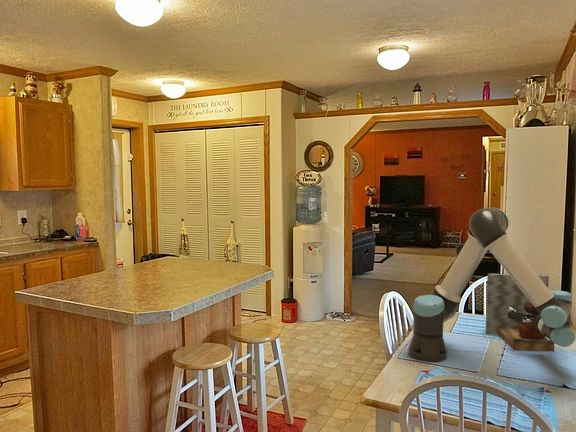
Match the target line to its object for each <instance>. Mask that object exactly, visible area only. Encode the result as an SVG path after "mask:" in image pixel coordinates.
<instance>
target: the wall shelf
mask: <svg viewBox="0 0 576 432" xmlns="http://www.w3.org/2000/svg"><path fill="white" fill-rule="evenodd" d="M537 275H538V277H539V278H540V279H541V280H542V281H543V283H544V284H545V285H546V286H547V288H548V289H549V281H550V277H549V275H548V274H537ZM486 280H487V281H486V283H487V284H486V306H485V310H486V312H485V334H486V335H496V336H497V335H498V336H499V337H500V338H501V339H502V340H503V341H504V342H505V343H506V344H507V345H508V346H509V347H510V348H511V349H512V348H513V349H512V350H513V351H526V350H528V352H531V351H532V352H549V351H554V352H555V343H553V342H552V341H551V340H550V339H549V338H547V337H545V338H544V339H542V340H541V339H528V338H525V337H523V336H522V335H520V333H519V325H520V323H522V322H519V321H516V320H513V319H510V318H508V312H509V307H511V308H513V309H514V310H515V311H516V312H518V313H522V314H526V315H528V314H529V313H527V312H526V311H525V310H524V307H523V306H524V303H525V302H526V301H529V299H528V298H527V297H526V295H525V294H524V293H523V292H522V290H521V289H520V288H519V287H518V285H517V284H516V283H515V282H514V280H513V279H512V278H511V277H510V275H509V274H508V273H487V278H486ZM531 315H532V314H531Z"/></svg>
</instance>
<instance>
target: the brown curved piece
mask: <svg viewBox="0 0 576 432" xmlns="http://www.w3.org/2000/svg"><path fill="white" fill-rule="evenodd" d="M523 307H524V310H525V311H526V312H527V313H529V314H532V315H539V314H540V313H539V312H538V310H537V309H536V308H535V307H534V305H533V304H532V303H531V302H530V300H529V301H526V302H525V303H524V306H523ZM530 318H531V317H530ZM519 333H520V335H522V336H523V337H525V338H528V339H541V340H542V339H544V338H547V337H546V336H545V335H544V334H542V333H541V332H539V331H538V330H537V329H536V328H535V327H534V325H533V324H531V323H528V322H527V324H523V323H520V325H519Z"/></svg>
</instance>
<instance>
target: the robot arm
mask: <svg viewBox="0 0 576 432" xmlns="http://www.w3.org/2000/svg"><path fill="white" fill-rule="evenodd" d="M509 221H510V220H509V217H508V215H507V214H506V212H505V211H503V209H500V208H497V207H492V206H491V207H490V206H489V207H486V208H480V209H477V210H476V211H475V212H473V214H472V215H471V216H470V218H469V221H468V227H469V228H468V229H467V231H466V233H467V236H468V238H467V240H466V241H465V243H464V244H463V247H462V248H461V250H460V251H459V253H458V255H457V257H456V258H455V260H454V262H453V264H452V266H451V267H450V269H449V270H448V272H447V274H446V276H445V278H444V279H443V281H442V282H441V284H438V285H436V286H435V287H434V288H433V290H432V291H431V294H425V295H419V296H417V297H416V298H415V299H414V301H413V302H414V303H413V306H412V307H413V308H412V309H413V319H412V320H413V322H412V323H413V325H412V326H413V328H412V329H413V330H412V331H413V333H412V338H411V339H410V340H411V341H410V342H409V345H408V355H409V356H410V357H411V358H414V359H415V360H421V361H426V362H441V361H444V360H446V359H447V358H448V349H447V345H446V343H445V340H444V323H446V322H447V321H448V320H450V319H452V318H454V316H455V315H456V313H457V311H458V307H459V306H460V303H461V302H462V298H461V294H462V293H463V291H464V289H465V288H466V286H467V285H468V283H469V281H470V280H471V278H472V276H473V274H474V273H475V271H476V269H477V268H478V266H479V265H480V263H481V261H482V260H483V258H484V256H485V254H487V252H488V251H489V252H490V253H491V254H492V255H493V257H494V258H495V259H496V260H497V262H498V263H499V264H500V266H501V267H502V268H503V269H504V270H505V272H506V274H509V275H510V277H511V278H512V279H513V280H514V282H515V283H516V284H517V285H518V287H519V288H520V289H521V290H522V292H523V293H524V294H525V295H526V297H527V298H528V299H529V300H530V302H531V303H532V304H533V305H534V307H535V308H536V309H537V310H538V312H539V313H540V314H539V315H531V314H528V315H526V314H522V313H518V312H516V311H515V310H514V309H513V308H511V307H509V312H508V318H510V319H513V320H516V321H519V322H522V323H523V324H527V322H528V323H531V324H533V325H534V327H535V328H536V329H537V330H538V331H539V332H541V333H542V334H544V335H545V336H546V337H545V338H546V339H548V340H551V341H552V342H553V343H554V345H557V346H559V347H562V348H568V347H570V346H572V345H573V344H574V342H575V341H576V333H575V332H574V331H573V329H572V328H571V327H572V321H571V319H572V308H573V307H572V306H573V305H572V304H573V297H572V294H571V292H569V291H565V290H555V289H554V290H550V289H549V287H548V288H547V286H546V285H545V284H544V283H543V281H542V280H541V279H540V278H539V277H538V275H539V274H537V273H536V272H535V270H534V269H533V267H531V266H530V264H529V263H528V262H527V261H526V259H525V258H524V257H523V255H521V254H520V252H519V251H518V250H517V248H516V247H515V246H514V245H513V244H512V242H511V241H510V240H509V239H508V233H507V232H506V231H507V230H508V228H509ZM530 317H531V318H530Z"/></svg>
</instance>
